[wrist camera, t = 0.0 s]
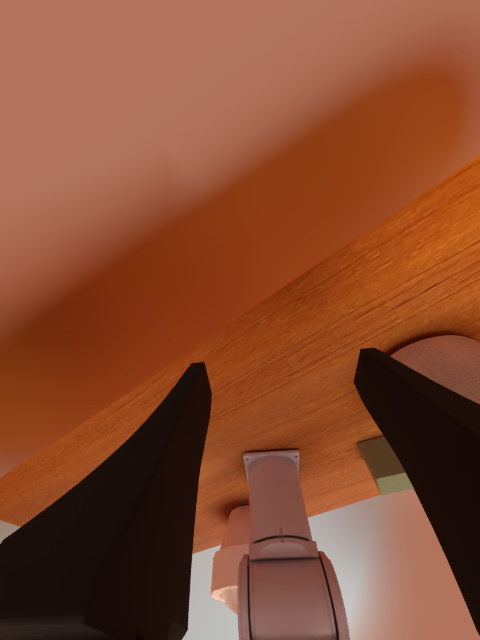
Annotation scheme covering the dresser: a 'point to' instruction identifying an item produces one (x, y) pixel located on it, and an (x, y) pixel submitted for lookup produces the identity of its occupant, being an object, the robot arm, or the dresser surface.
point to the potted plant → (231, 557)
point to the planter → (446, 362)
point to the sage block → (384, 466)
